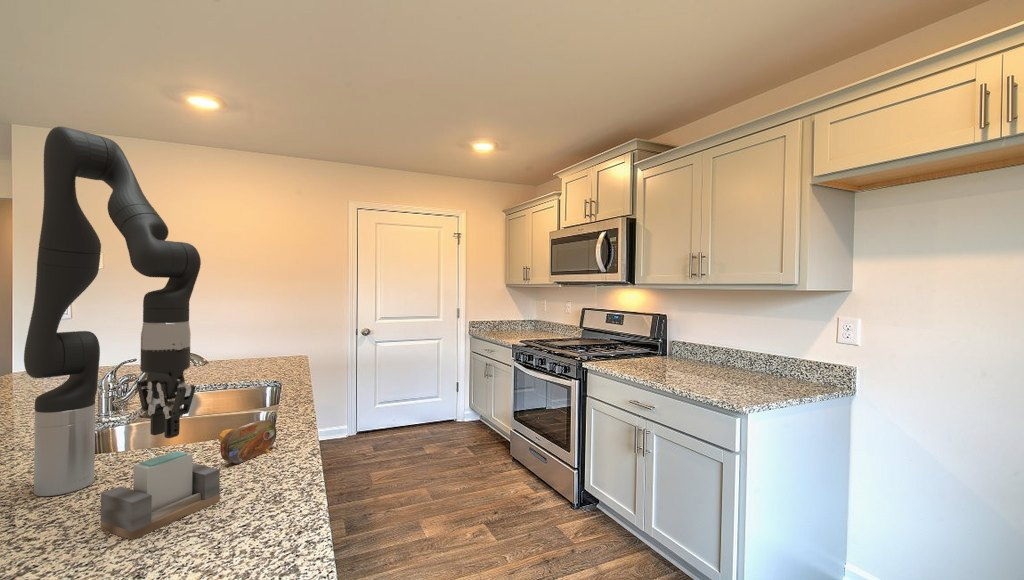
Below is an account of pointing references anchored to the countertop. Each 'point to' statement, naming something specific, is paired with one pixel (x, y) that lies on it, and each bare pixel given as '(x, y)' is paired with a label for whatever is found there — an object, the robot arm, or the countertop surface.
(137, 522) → the rack
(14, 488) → the countertop surface
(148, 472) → the block
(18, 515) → the countertop surface
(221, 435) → the orange rounded piece
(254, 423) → the tin
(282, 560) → the countertop surface
